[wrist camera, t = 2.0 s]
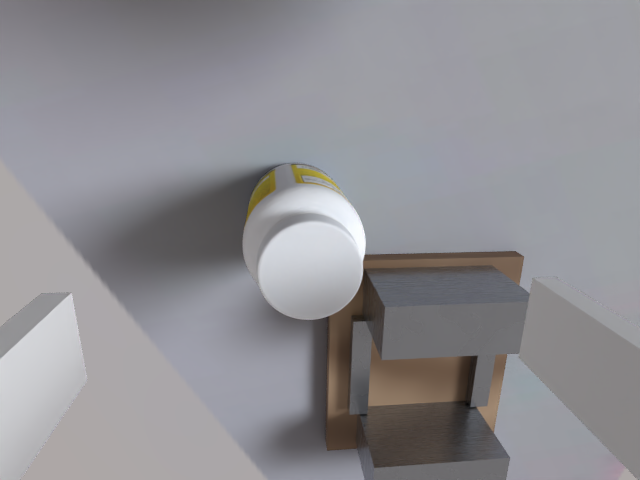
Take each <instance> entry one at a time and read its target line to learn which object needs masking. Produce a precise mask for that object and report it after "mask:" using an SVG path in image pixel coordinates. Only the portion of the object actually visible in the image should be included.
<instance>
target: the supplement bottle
mask: <svg viewBox="0 0 640 480" xmlns="http://www.w3.org/2000/svg"><path fill="white" fill-rule="evenodd" d="M242 246H243V255H244V259H245V263H246V265H247V268H248V270H249V272H250V274H251V276H252V277H253V279H254V280H255V281H256V283H257V284H258V285H259V288H260V290H261V292H262V294H263V296H264V297H265V299H266V300H267V302H268V303H269V304H270V305H271V306H272V307H274V308H275V309H276V310H277V311H279V312H280V313H282V314H284V315H287V316H289V317H292V318H296V319H302V320H315V319H321V318H324V317H327V316H330V315H332V314H334V313H336V312H338V311H340V310H341V309H342V308H344V307H345V306H346V305H347V304H348V303H349V302H350V301H351V300H352V299H353V297H354V296H355V294H356V293H357V291H358V289H359V287H360V284H361V281H362V276H363V259H364V254H365V246H366V241H365V232H364V229H363V225H362V223H361V220H360V218H359V216H358V214H357V212H356V210H355V209H354V207H353V206H352V205H351V203H350V202H349V201H348V199H347V198H346V197H345V195H344V194H343V193H342V191H341V190H340V189H339V188H338V186H337V185H336V184H335V182H334V181H333V180H332V179H331V178H330V177H329V176H328V175H327V174H326V173H324V172H323V171H322V170H320V169H318V168H316V167H314V166H311V165H308V164H303V163H289V164H284V165H281V166H278V167H276V168H274V169H272V170H270V171H269V172H267V173H266V174H265V175H264V176H263V177H262V178H261V179H260V180H259V181H258V183H257V184H256V186H255V188H254V190H253V192H252V195H251V198H250V202H249V206H248V212H247V217H246V222H245V227H244V232H243V243H242Z"/></svg>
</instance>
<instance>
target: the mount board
mask: <svg viewBox="0 0 640 480" xmlns="http://www.w3.org/2000/svg"><path fill="white" fill-rule="evenodd" d="M523 260H524V256H522V255H520V254H519V253H517V252H516V251H508V252H465V253H423V254H380V255H364V259H363V276H362V281H361V284H360V287H359V289H358V291H357V293H356V294H355V296H354V297H353V299H352V300H351V301H350V302H349V303H348V304H347V305H346V306H345V307H344V308H342V309H341V310H340V311H338V312H336V313H334V314H332V315H330V316H328V346H327V394H326V446H327V451H328V450H342V449H356V448H357V445H356V432H357V414H353V415H349V411H348V407H347V405H348V380H349V355H350V330H351V315H363V314H362V309H363V288H364V269H366V268H403V267H441V266H478V265H493V266H494V267H495V268H497V269H498V270H499V271H501V272H502V273H503V274H505V275H506V276H507V277H509V278H510V279H511V280H512V281H514V282H515V283H516V284H518V285H519V283H520V278H521V272H522V266H523ZM506 358H507V354H498V355H496V356H495V363H494V369H493V375H492V381H491V387H490V393H489V399H488V405H487V406H483V407H477V409H478V410H479V412H480V413H481V415H482V416H483V418H484V419H485V421H486V422H487V424H488V425H489V427H490V428H491V430H492V431H493V433H494V428H495V422H496V416H497V410H498V405H499V399H500V393H501V387H502V381H503V376H504V370H505V364H506ZM470 362H471V356H457V357H437V358H416V359H396V360H381V358H380V355H379V353H378V350H377V348H376V346H375V343H374V341H373V338H372V346H371V363H370V380H369V398H368V406H383V405H399V404H416V403H433V402H449V401H466V400H465V397H466V390H467V383H468V376H469V369H470Z"/></svg>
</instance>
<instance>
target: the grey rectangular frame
mask: <svg viewBox="0 0 640 480" xmlns="http://www.w3.org/2000/svg"><path fill="white" fill-rule="evenodd" d="M529 296H530V293H528V292H527V291H526V290H524V289H523V288H522V287H520V286H519V285H518V284H516V283H515V282H514V281H512V280H511V279H510V278H509V277H507V276H506V275H505V274H503V273H502V272H501V271H499V270H498V269H497V268H495V267H494V266H493V265H478V266H441V267H403V268H366V269H364V288H363V309H362V314H363V315H351V330H350V355H349V380H348V405H347V407H348V411H349V415H353V414H357V432H356V445H357V449H358V453H359V458H360V462H361V466H362V470H363V475H364V479H365V480H506V476H507V471H508V466H509V461H510V457H509V456H508V454H507V452H506V451H505V449H504V448H503V446H502V445H501V443H500V442H499V440H498V439H497V437H496V436H495V434H494V433H493V431H492V430H491V428H490V427H489V425H488V424H487V422H486V421H485V419H484V418H483V416H482V415H481V413H480V412H479V410H478V409H477V407H483V406H487V405H488V399H489V393H490V387H491V381H492V375H493V369H494V363H495V356H496V355H498V354H519V352H520V347H521V341H522V335H523V330H524V324H525V318H526V313H527V307H528V301H529ZM372 338H373V341H374V343H375V346H376V348H377V350H378V353H379V355H380V358H381V360H396V359H416V358H437V357H457V356H471V362H470V369H469V376H468V383H467V390H466V397H465V400H466V401H449V402H433V403H416V404H399V405H383V406H368V398H369V380H370V363H371V346H372Z"/></svg>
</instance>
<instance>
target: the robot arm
mask: <svg viewBox="0 0 640 480" xmlns="http://www.w3.org/2000/svg"><path fill="white" fill-rule="evenodd" d="M519 358H520V359H521V360H522V361H523V362H524V363H525V365H526V366H527V367H528V368H529V369H530V370H531V371H532V372H533V373H534V374H535V375H536V376H537V377H538V378H539V379H540V380H541V381H542V382H543V383H544V384H545V385H546V386H547V387H548V388H549V389H550V390H551V391H552V392H553V393H554V394H555V395H556V396H557V397H558V398H559V399H560V400H561V401H562V403H563V404H564V405H565V406H566V407H567V408H568V409H569V410H570V411H571V412H572V413H573V414H574V415H575V416H576V417H577V418H578V419H579V420H580V421H581V422H582V423H583V424H584V425H585V426H586V427H587V428H588V429H589V430H590V431H591V432H592V433H593V434H594V435H595V436H596V437H597V438H598V439H599V440H600V442H601V443H602V444H603V445H604V446H605V447H606V448H607V449H608V450H609V451H610V452H611V453H612V454H613V455H614V456H615V457H616V458H617V459H618V460H619V461H620V462H621V463H622V464H623V465H624V466H625V467H626V468H627V469H628V470H629V471H630V472H631V473H632V474H633V475H634V476H635V477H636V478H637V480H640V327H638V326H637V325H635V324H633V323H632V322H630V321H629V320H627V319H625V318H624V317H622V316H620V315H619V314H617V313H615V312H614V311H612V310H610V309H609V308H607V307H605V306H604V305H602V304H600V303H599V302H597V301H595V300H594V299H592V298H591V297H589V296H587V295H586V294H584V293H582V292H581V291H579V290H577V289H576V288H574V287H572V286H571V285H569V284H567V283H566V282H564V281H562V280H561V279H559V278H558V277H538V278H533V279H532V284H531V290H530V296H529V301H528V307H527V313H526V318H525V324H524V330H523V335H522V341H521V347H520V352H519ZM86 382H87V374H86V369H85V364H84V358H83V352H82V347H81V341H80V336H79V330H78V325H77V319H76V314H75V308H74V303H73V297H72V293H71V292H70V293H42V294H40V295H39V296H38V297H36V298H35V299H34V300H33V301H31V302H30V303H29V304H28V305H27V306H25V307H24V308H23V309H22V310H20V311H19V312H18V313H17V314H16V315H14V316H13V317H12V318H11V319H9V320H8V321H7V322H6V323H4V324H3V325H2V326H1V327H0V480H21V478H22V477H23V475H24V474H25V472H26V470H27V469H28V468H29V466H30V465H31V463H32V462H33V460H34V459H35V457H36V456H37V454H38V453H39V451H40V450H41V448H42V447H43V446H44V444H45V443H46V441H47V439H48V438H49V437H50V435H51V434H52V432H53V431H54V429H55V428H56V426H57V425H58V423H59V422H60V420H61V419H62V417H63V416H64V414H65V413H66V411H67V410H68V408H69V407H70V405H71V404H72V402H73V401H74V399H75V398H76V396H77V395H78V394H79V392H80V391H81V389H82V388H83V386H84V384H85V383H86Z"/></svg>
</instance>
